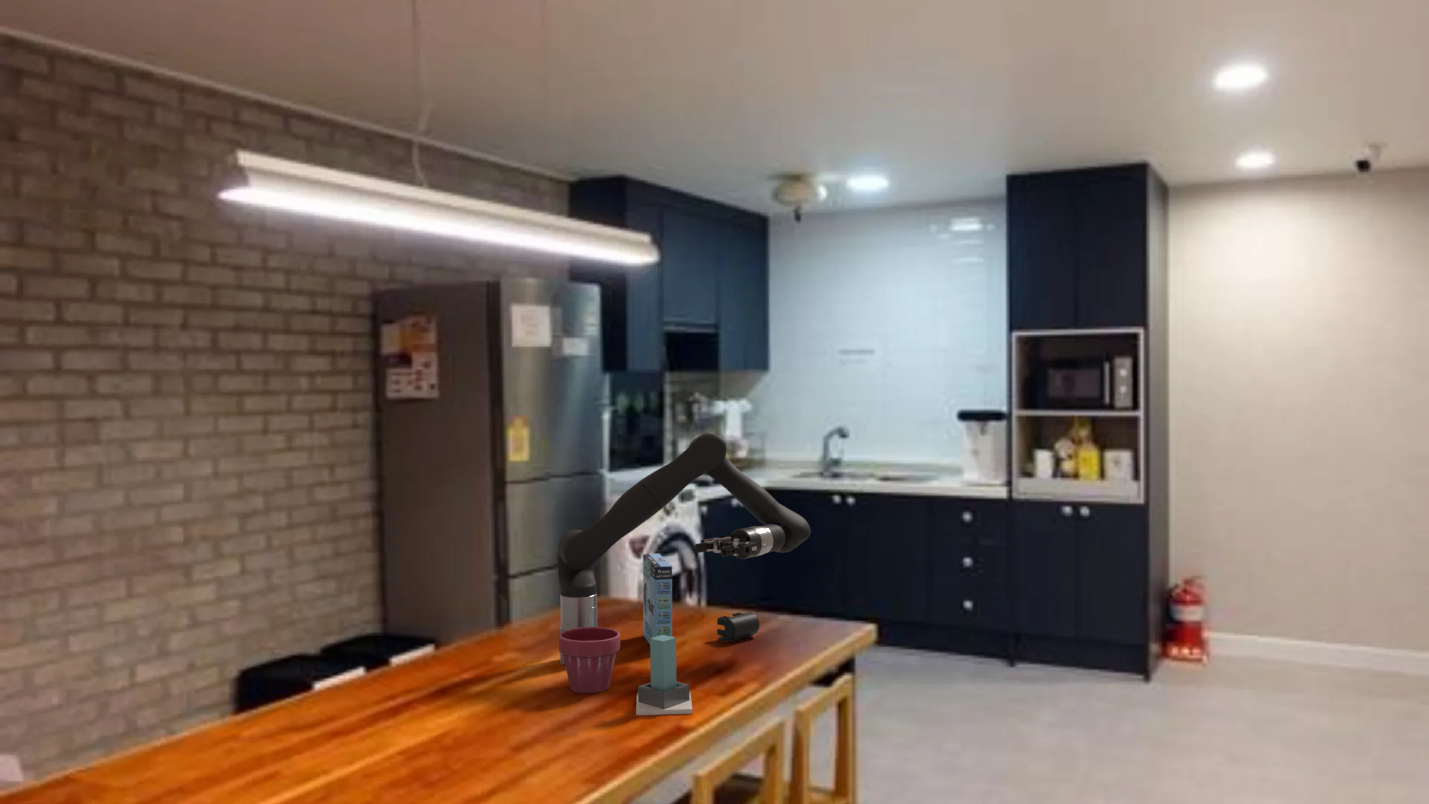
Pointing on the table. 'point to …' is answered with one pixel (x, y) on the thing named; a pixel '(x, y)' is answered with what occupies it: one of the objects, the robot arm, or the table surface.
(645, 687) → the metal collar
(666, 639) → the teal peg
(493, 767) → the table surface
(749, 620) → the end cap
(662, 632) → the light blue cardboard box
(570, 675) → the plant pot
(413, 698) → the table surface
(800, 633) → the table surface
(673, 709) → the base board
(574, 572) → the robot arm
